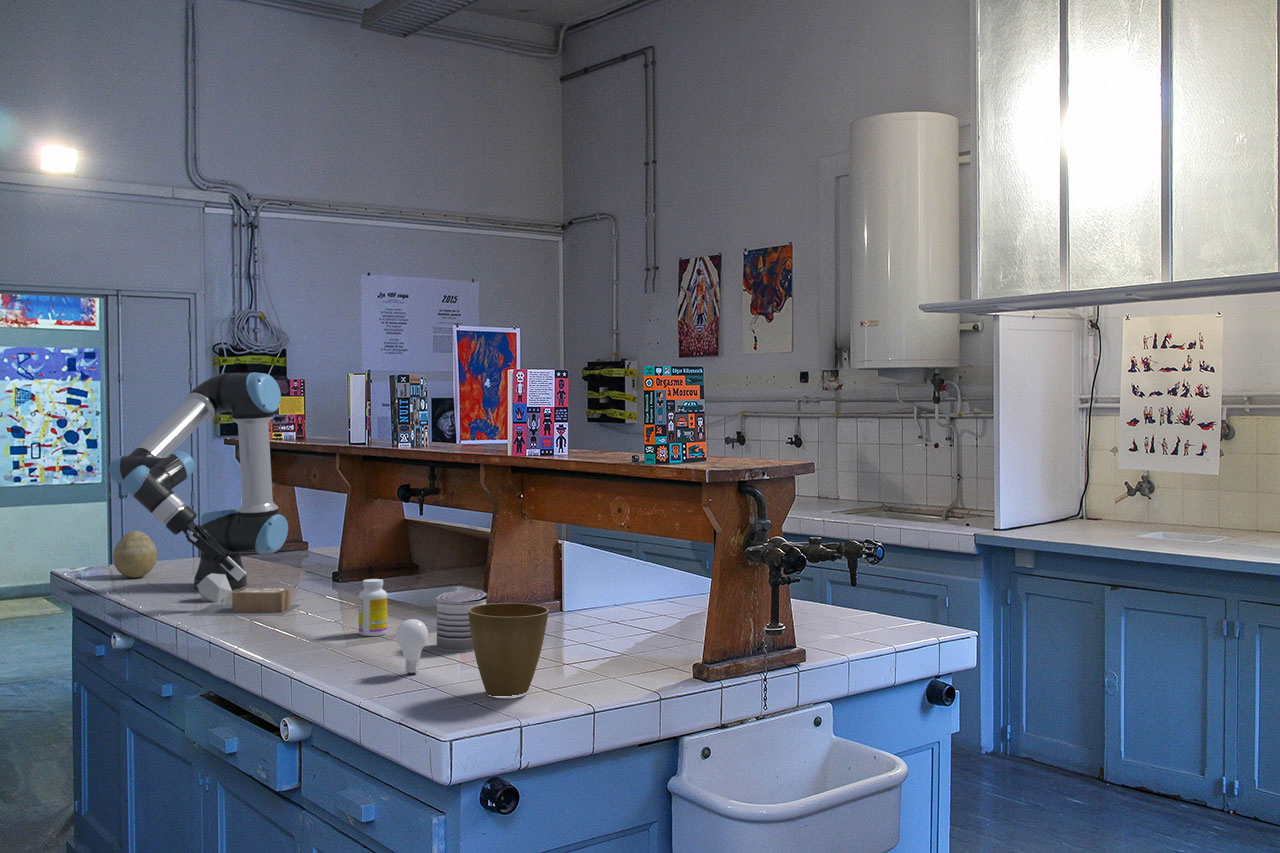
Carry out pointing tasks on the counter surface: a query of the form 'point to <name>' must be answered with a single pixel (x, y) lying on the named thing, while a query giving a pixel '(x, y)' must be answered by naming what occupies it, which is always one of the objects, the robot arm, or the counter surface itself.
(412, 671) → the lightbulb
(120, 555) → the fossilized egg
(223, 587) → the die
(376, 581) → the supplement bottle
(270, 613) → the mat
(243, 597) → the label block
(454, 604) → the can
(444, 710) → the counter surface
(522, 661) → the plant pot
